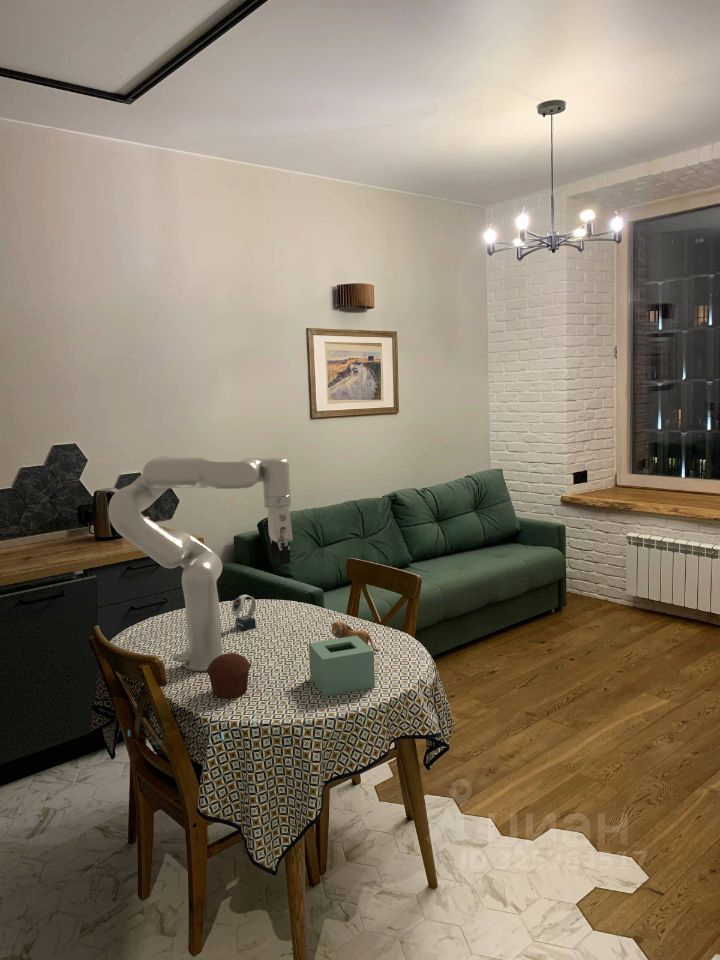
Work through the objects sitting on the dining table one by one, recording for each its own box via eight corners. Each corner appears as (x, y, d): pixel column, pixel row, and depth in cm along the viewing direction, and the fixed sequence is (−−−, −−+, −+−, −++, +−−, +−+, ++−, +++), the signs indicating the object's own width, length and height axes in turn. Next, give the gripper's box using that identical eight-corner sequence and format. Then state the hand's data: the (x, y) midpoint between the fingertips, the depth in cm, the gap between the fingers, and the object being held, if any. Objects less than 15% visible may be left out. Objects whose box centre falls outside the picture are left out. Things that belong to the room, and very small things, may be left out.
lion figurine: (329, 652, 218) (328, 624, 216) (335, 646, 223) (334, 618, 221) (376, 656, 213) (375, 627, 212) (381, 650, 218) (380, 621, 217)
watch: (231, 628, 243) (229, 596, 242) (251, 622, 248) (249, 591, 247) (239, 632, 239) (237, 600, 237) (260, 626, 244) (258, 595, 242)
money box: (324, 696, 187) (322, 659, 186) (310, 678, 199) (308, 643, 198) (374, 687, 192) (373, 650, 190) (358, 669, 204) (356, 635, 202)
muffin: (240, 679, 200) (238, 644, 199) (260, 692, 191) (258, 655, 190) (200, 691, 193) (198, 655, 192) (219, 705, 184) (216, 667, 183)
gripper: (298, 504, 199) (301, 565, 202) (282, 496, 216) (285, 552, 218) (271, 507, 197) (274, 568, 199) (258, 498, 213) (261, 555, 215)
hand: (280, 560), depth 208 cm, fingers open, 9 cm apart
